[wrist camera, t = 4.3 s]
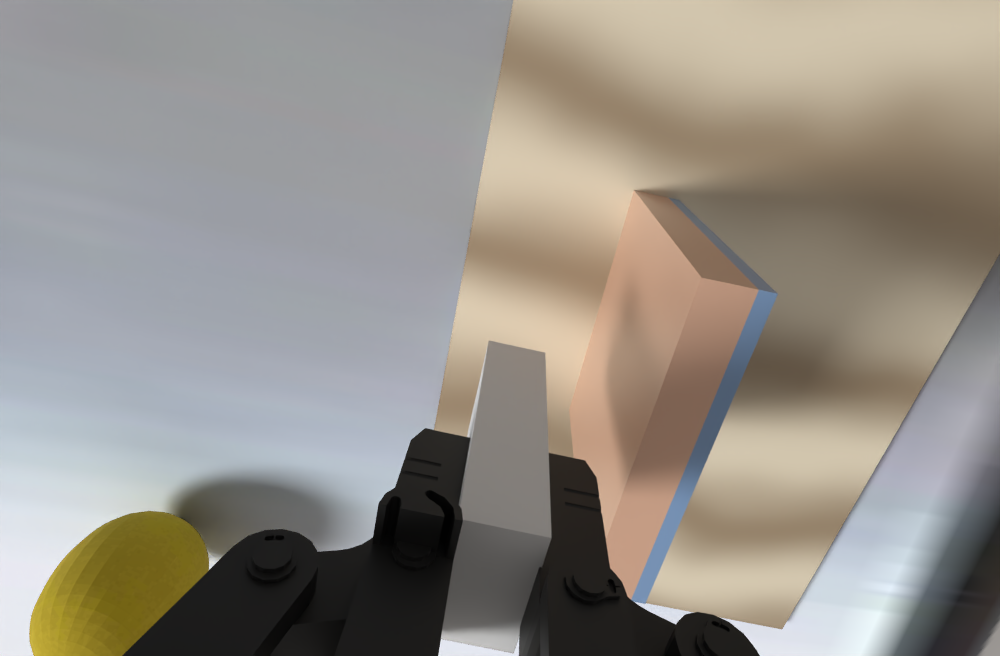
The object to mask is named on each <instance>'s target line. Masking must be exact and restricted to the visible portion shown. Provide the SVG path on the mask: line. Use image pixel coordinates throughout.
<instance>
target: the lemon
mask: <svg viewBox="0 0 1000 656" xmlns="http://www.w3.org/2000/svg"><path fill="white" fill-rule="evenodd" d="M208 571H209V557H208V553H207V549H206V546H205V543H204V541H203V539H202V538H201V536H200V534H199V533H198V531H197V530H196V529H195V528H194V527H193V526H192V525H191V524H189V523H188V522H186V521H185V520H183V519H181V518H179V517H177V516H175V515H172V514H169V513H165V512H154V511H146V512H138V513H131V514H128V515H125V516H122V517H120V518H117V519H115V520H112V521H110V522H108V523H106V524H104V525H102V526H101V527H99V528H97V529H96V530H95V531H93V532H92V533H91V534H89V535H88V536H87V537H86V538H85V539H84V540H82V541H81V542H80V543H79V544H78V545H77V546H75V547H74V548H73V549H72V550H71V551H70V552H69V553H68V554H67V555H66V557H65V558H64V559H63V560H62V561H61V562H60V564H59V565H58V566H57V568H56V569H55V570H54V572H53V574H52V575H51V577H50V578H49V580H48V582H47V583H46V585H45V587H44V589H43V591H42V593H41V594H40V596H39V598H38V600H37V603H36V605H35V607H34V610H33V613H32V616H31V622H30V633H29V635H30V644H31V648H32V651H33V655H34V656H122V655H123V654H124V653H125V652H126V651H127V650H128V649H129V648H130V647H131V646H132V645H133V644H134V643H136V642H137V641H138V640H139V639H140V638H141V637H142V636H143V635H144V634H145V633H146V632H147V631H148V630H149V629H150V628H151V627H152V626H153V625H154V624H155V623H156V622H157V621H158V620H159V619H160V618H161V617H162V616H163V615H164V614H165V613H166V612H167V611H168V610H169V609H170V608H171V607H172V606H173V605H174V604H175V603H176V602H177V601H178V600H179V599H180V598H181V597H182V596H183V595H184V594H185V593H186V592H187V591H188V590H189V589H191V588H192V587H193V586H194V585H195V584H196V583H197V582H198V581H199V580H200V579H201V578H202V577H203V576H204V575H205V574H206V573H207V572H208Z"/></svg>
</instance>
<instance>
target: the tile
mask: <svg viewBox="0 0 1000 656" xmlns="http://www.w3.org/2000/svg"><path fill="white" fill-rule="evenodd" d="M777 295H778V293H777V292H776V291H775V290H774V289H772V288H771V287H770V286H769V285H768V284H767V283H766V282H765V281H764V280H763V279H762V278H761V277H760V276H759V275H758V274H757V273H756V272H755V271H754V270H753V269H751V268H750V267H749V266H748V265H747V264H746V263H745V262H744V261H743V260H742V259H741V258H740V257H739V256H738V255H737V254H736V253H735V252H734V251H733V250H732V249H730V248H729V247H728V246H727V245H726V244H725V243H724V242H723V241H722V240H721V239H720V238H719V237H718V236H717V235H716V234H715V233H714V232H713V231H712V230H711V229H709V228H708V227H707V226H706V225H705V224H704V223H703V222H702V221H701V220H700V219H699V218H698V217H697V216H696V215H695V214H694V213H693V212H692V211H691V210H690V209H688V208H687V207H686V206H685V205H684V204H683V203H682V202H681V201H680V200H678V199H673V198H668V197H664V196H659V195H654V194H650V193H645V192H641V191H636V190H634V191H633V195H632V198H631V202H630V205H629V208H628V212H627V215H626V219H625V222H624V225H623V229H622V232H621V236H620V239H619V242H618V246H617V249H616V253H615V256H614V259H613V263H612V266H611V270H610V273H609V276H608V280H607V283H606V286H605V290H604V293H603V297H602V300H601V303H600V307H599V310H598V314H597V317H596V320H595V324H594V327H593V331H592V334H591V337H590V341H589V344H588V348H587V351H586V354H585V358H584V361H583V365H582V368H581V371H580V375H579V378H578V381H577V385H576V388H575V392H574V395H573V398H572V402H571V405H570V409H569V415H570V425H571V435H572V446H573V456H574V458H576V459H581V460H585V461H586V462H587V464H588V465H589V467H590V468H591V470H592V471H593V473H594V474H595V476H596V477H597V483H598V490H599V498H600V503H601V513H602V517H603V523H604V530H605V537H606V544H607V550H608V557H609V564H610V569H612V570H613V572H614V573H615V574H616V575H617V576H618V578H619V579H620V580H621V581H622V583H623V586H624V588H625V591H626V593H627V597H629V598H630V599H631V600H632V601H634V602H639V603H644V604H645V603H646V601H647V599H648V596H649V594H650V592H651V589H652V587H653V585H654V582H655V580H656V578H657V575H658V573H659V571H660V568H661V566H662V564H663V561H664V559H665V557H666V554H667V552H668V550H669V547H670V545H671V543H672V540H673V538H674V536H675V533H676V531H677V529H678V526H679V524H680V522H681V519H682V517H683V515H684V512H685V510H686V508H687V505H688V503H689V501H690V498H691V496H692V494H693V491H694V489H695V487H696V484H697V482H698V480H699V477H700V475H701V473H702V470H703V468H704V466H705V463H706V461H707V459H708V456H709V454H710V452H711V449H712V447H713V445H714V442H715V440H716V438H717V435H718V433H719V431H720V428H721V426H722V424H723V421H724V419H725V417H726V414H727V412H728V410H729V407H730V405H731V402H732V400H733V398H734V395H735V393H736V391H737V388H738V386H739V384H740V381H741V379H742V377H743V374H744V372H745V370H746V367H747V365H748V363H749V360H750V358H751V356H752V353H753V351H754V349H755V346H756V344H757V342H758V339H759V337H760V335H761V332H762V330H763V328H764V325H765V323H766V321H767V318H768V316H769V314H770V311H771V309H772V307H773V304H774V302H775V300H776V297H777Z"/></svg>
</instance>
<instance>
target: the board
mask: <svg viewBox="0 0 1000 656" xmlns="http://www.w3.org/2000/svg"><path fill="white" fill-rule="evenodd" d="M634 190H636V191H641V192H645V193H650V194H654V195H659V196H664V197H668V198H673V199H678V200H680V201H681V202H682V203H683V204H684V205H685V206H686V207H687V208H688V209H690V210H691V211H692V212H693V213H694V214H695V215H696V216H697V217H698V218H699V219H700V220H701V221H702V222H703V223H704V224H705V225H706V226H707V227H708V228H709V229H711V230H712V231H713V232H714V233H715V234H716V235H717V236H718V237H719V238H720V239H721V240H722V241H723V242H724V243H725V244H726V245H727V246H728V247H729V248H730V249H732V250H733V251H734V252H735V253H736V254H737V255H738V256H739V257H740V258H741V259H742V260H743V261H744V262H745V263H746V264H747V265H748V266H749V267H750V268H751V269H753V270H754V271H755V272H756V273H757V274H758V275H759V276H760V277H761V278H762V279H763V280H764V281H765V282H766V283H767V284H768V285H769V286H770V287H771V288H772V289H774V290H775V291H776V292H777V293H778V295H777V297H776V300H775V302H774V304H773V307H772V309H771V311H770V314H769V316H768V318H767V321H766V323H765V325H764V328H763V330H762V332H761V335H760V337H759V339H758V342H757V344H756V346H755V349H754V351H753V353H752V356H751V358H750V360H749V363H748V365H747V367H746V370H745V372H744V374H743V377H742V379H741V381H740V384H739V386H738V388H737V391H736V393H735V395H734V398H733V400H732V402H731V405H730V407H729V410H728V412H727V414H726V417H725V419H724V421H723V424H722V426H721V428H720V431H719V433H718V435H717V438H716V440H715V442H714V445H713V447H712V449H711V452H710V454H709V456H708V459H707V461H706V463H705V466H704V468H703V470H702V473H701V475H700V477H699V480H698V482H697V484H696V487H695V489H694V491H693V494H692V496H691V498H690V501H689V503H688V505H687V508H686V510H685V512H684V515H683V517H682V519H681V522H680V524H679V526H678V529H677V531H676V533H675V536H674V538H673V540H672V543H671V545H670V547H669V550H668V552H667V554H666V557H665V559H664V561H663V564H662V566H661V568H660V571H659V573H658V575H657V578H656V580H655V582H654V585H653V587H652V589H651V592H650V594H649V596H648V599H647V601H646V603H649V604H654V605H659V606H664V607H669V608H674V609H680V610H685V611H690V612H701V613H707V614H713V615H715V616H717V617H721V618H726V619H731V620H737V621H742V622H747V623H752V624H757V625H763V626H768V627H773V628H778V629H783V627H784V625H785V623H786V622H787V620H788V618H789V617H790V615H791V613H792V611H793V610H794V608H795V606H796V604H797V603H798V601H799V599H800V598H801V596H802V594H803V592H804V591H805V589H806V587H807V585H808V584H809V582H810V580H811V579H812V577H813V575H814V573H815V572H816V570H817V568H818V566H819V565H820V563H821V561H822V560H823V558H824V556H825V554H826V553H827V551H828V549H829V547H830V546H831V544H832V542H833V541H834V539H835V537H836V535H837V534H838V532H839V530H840V528H841V527H842V525H843V523H844V522H845V520H846V518H847V516H848V515H849V513H850V511H851V510H852V508H853V506H854V504H855V503H856V501H857V499H858V497H859V496H860V494H861V492H862V491H863V489H864V487H865V485H866V484H867V482H868V480H869V478H870V477H871V475H872V473H873V472H874V470H875V468H876V466H877V465H878V463H879V461H880V459H881V458H882V456H883V454H884V453H885V451H886V449H887V447H888V446H889V444H890V442H891V440H892V439H893V437H894V435H895V434H896V432H897V430H898V428H899V427H900V425H901V423H902V421H903V420H904V418H905V416H906V415H907V413H908V411H909V409H910V408H911V406H912V404H913V403H914V401H915V399H916V397H917V396H918V394H919V392H920V390H921V389H922V387H923V385H924V384H925V382H926V380H927V378H928V377H929V375H930V373H931V371H932V370H933V368H934V366H935V365H936V363H937V361H938V359H939V358H940V356H941V354H942V352H943V351H944V349H945V347H946V346H947V344H948V342H949V340H950V339H951V337H952V335H953V333H954V332H955V330H956V328H957V327H958V325H959V323H960V321H961V320H962V318H963V316H964V314H965V313H966V311H967V309H968V308H969V306H970V304H971V302H972V301H973V299H974V297H975V296H976V294H977V292H978V290H979V289H980V287H981V285H982V283H983V282H984V280H985V278H986V277H987V275H988V273H989V271H990V270H991V268H992V266H993V264H994V263H995V261H996V259H997V258H998V256H999V254H1000V0H513V5H512V11H511V16H510V22H509V27H508V32H507V38H506V43H505V49H504V54H503V60H502V65H501V70H500V76H499V81H498V87H497V92H496V97H495V103H494V108H493V114H492V119H491V124H490V130H489V135H488V141H487V146H486V152H485V157H484V162H483V168H482V173H481V179H480V184H479V189H478V195H477V200H476V206H475V211H474V216H473V222H472V227H471V233H470V238H469V244H468V249H467V254H466V260H465V265H464V271H463V276H462V281H461V287H460V292H459V298H458V303H457V308H456V314H455V319H454V325H453V330H452V336H451V341H450V346H449V352H448V357H447V363H446V368H445V373H444V379H443V384H442V390H441V395H440V400H439V406H438V411H437V417H436V422H435V428H434V430H436V431H441V432H445V433H450V434H455V435H460V436H464V437H467V435H468V429H469V425H470V420H471V416H472V411H473V407H474V403H475V398H476V394H477V390H478V385H479V381H480V376H481V372H482V368H483V363H484V359H485V354H486V350H487V346H488V341H494V342H498V343H503V344H508V345H512V346H517V347H522V348H526V349H531V350H535V351H540V352H545V359H546V388H547V418H548V448H549V453H553V454H557V455H562V456H567V457H572V458H574V456H573V446H572V435H571V425H570V415H569V409H570V405H571V402H572V398H573V395H574V392H575V388H576V385H577V381H578V378H579V375H580V371H581V368H582V365H583V361H584V358H585V354H586V351H587V348H588V344H589V341H590V337H591V334H592V331H593V327H594V324H595V320H596V317H597V314H598V310H599V307H600V303H601V300H602V297H603V293H604V290H605V286H606V283H607V280H608V276H609V273H610V270H611V266H612V263H613V259H614V256H615V253H616V249H617V246H618V242H619V239H620V236H621V232H622V229H623V225H624V222H625V219H626V215H627V212H628V208H629V205H630V202H631V198H632V195H633V191H634Z"/></svg>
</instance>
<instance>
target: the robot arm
mask: <svg viewBox="0 0 1000 656" xmlns="http://www.w3.org/2000/svg"><path fill="white" fill-rule="evenodd" d="M519 636H520V637H519ZM441 639H443V640H448V641H453V642H458V643H463V644H468V645H473V646H479V647H484V648H489V649H494V650H499V651H504V652H509V653H514V651H515V648H516V645H517V642H518V639H519V656H760V655H759V654H758V652H757V651H756V649H755V648H754V646H753V645H752V644H751V643H750V641H749V640H748V639H747V637H746V636H745V635H744V634H743V633H742V632H741V631H739V630H738V629H737V628H736V627H734V626H733V625H732V624H731V623H729V622H728V621H725V620H723V619H721V618H719V617H717V616H715V615H713V614H707V613H701V612H695V613H690V614H686V615H684V616H683V617H682V618H681V619H680V620H679V621H678V622H677V624H676V625H675V624H673V623H671V622H669V621H667V620H665V619H663V618H661V617H659V616H657V615H655V614H653V613H651V612H649V611H647V610H645V609H644V608H642V607H640V606H639V605H637V604H636V603H635V602H633V601H632V600H631V599H630V598H629V597H627V593H626V591H625V588H624V586H623V583H622V581H621V580H620V579H619V578H618V576H617V575H616V574H615V573H614V572H613V570H612V569H610V564H609V557H608V550H607V544H606V537H605V530H604V523H603V517H602V513H601V503H600V498H599V490H598V483H597V477H596V476H595V474H594V473H593V471H592V470H591V468H590V467H589V465H588V464H587V462H586V461H585V460H581V459H576V458H572V457H567V456H562V455H557V454H553V453H549V448H548V418H547V388H546V359H545V352H540V351H535V350H531V349H526V348H522V347H517V346H512V345H508V344H503V343H498V342H494V341H488V346H487V350H486V354H485V359H484V363H483V368H482V372H481V376H480V381H479V385H478V390H477V394H476V398H475V403H474V407H473V411H472V416H471V420H470V425H469V429H468V435H467V437H464V436H460V435H455V434H450V433H445V432H441V431H436V430H431V429H426V428H425V429H424V430H422V431H421V432H420V433H419V434H418V435H417V436H415V437H414V438H413V439H412V440H411V442H410V445H409V448H408V451H407V454H406V457H405V460H404V463H403V466H402V469H401V473H400V475H399V478H398V481H397V484H396V487H395V488H394V489H392V490H391V491H389V492H387V493H386V494H385V495H384V497H383V498H382V500H381V501H380V502H379V505H378V511H377V517H376V523H375V529H374V536H373V538H372V539H370V540H368V541H367V542H365V543H364V544H362V545H359V546H356V547H353V548H350V549H344V550H338V551H323V552H317V550H316V549H315V547H314V545H313V544H312V542H311V541H310V540H309V539H307V538H305V537H304V536H302V535H301V534H299V533H296V532H292V531H288V530H284V529H279V530H264V531H261V532H258V533H255V534H252V535H249V536H247V537H246V538H244V539H243V540H242V541H240V542H239V543H237V544H236V545H234V546H233V547H232V548H231V549H230V550H229V551H228V552H227V553H226V554H225V555H224V556H223V557H222V558H221V559H220V560H219V561H218V562H217V563H216V564H215V565H214V566H213V567H212V568H211V569H210V570H209V571H208V572H207V573H206V574H205V575H204V576H203V577H202V578H201V579H200V580H199V581H198V582H197V583H196V584H195V585H194V586H193V587H192V588H191V589H189V590H188V591H187V592H186V593H185V594H184V595H183V596H182V597H181V598H180V599H179V600H178V601H177V602H176V603H175V604H174V605H173V606H172V607H171V608H170V609H169V610H168V611H167V612H166V613H165V614H164V615H163V616H162V617H161V618H160V619H159V620H158V621H157V622H156V623H155V624H154V625H153V626H152V627H151V628H150V629H149V630H148V631H147V632H146V633H145V634H144V635H143V636H142V637H141V638H140V639H139V640H138V641H137V642H136V643H134V644H133V645H132V646H131V647H130V648H129V649H128V650H127V651H126V652H125V653H124V654H123V655H122V656H438V653H439V647H440V640H441Z"/></svg>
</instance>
